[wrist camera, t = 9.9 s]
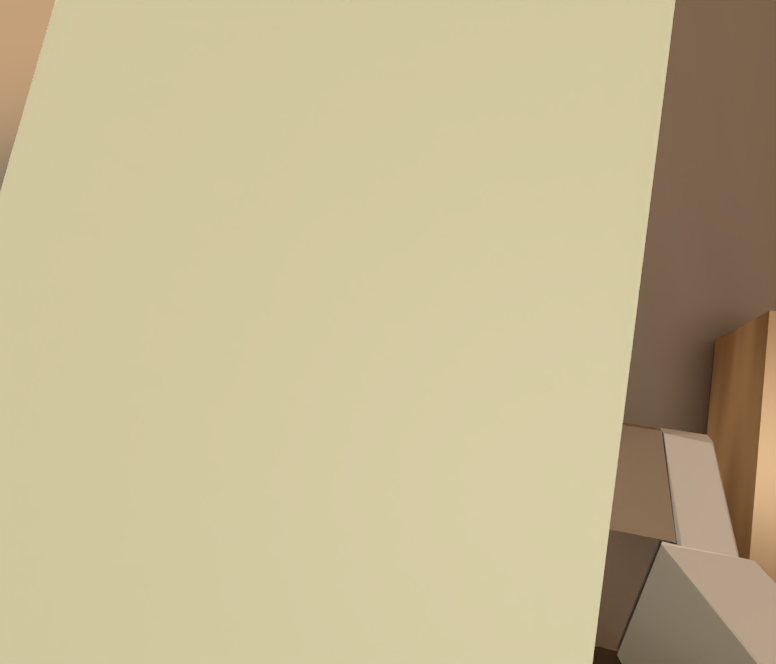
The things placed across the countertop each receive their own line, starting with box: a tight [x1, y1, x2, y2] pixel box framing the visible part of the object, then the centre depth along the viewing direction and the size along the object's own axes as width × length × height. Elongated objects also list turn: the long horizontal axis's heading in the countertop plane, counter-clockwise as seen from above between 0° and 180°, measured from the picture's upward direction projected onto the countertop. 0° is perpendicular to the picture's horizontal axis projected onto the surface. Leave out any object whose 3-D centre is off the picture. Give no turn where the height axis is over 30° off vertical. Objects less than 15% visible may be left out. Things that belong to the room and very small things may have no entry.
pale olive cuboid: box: [0, 0, 675, 664], centre depth 9 cm, size 7×4×9 cm, turn 169°
